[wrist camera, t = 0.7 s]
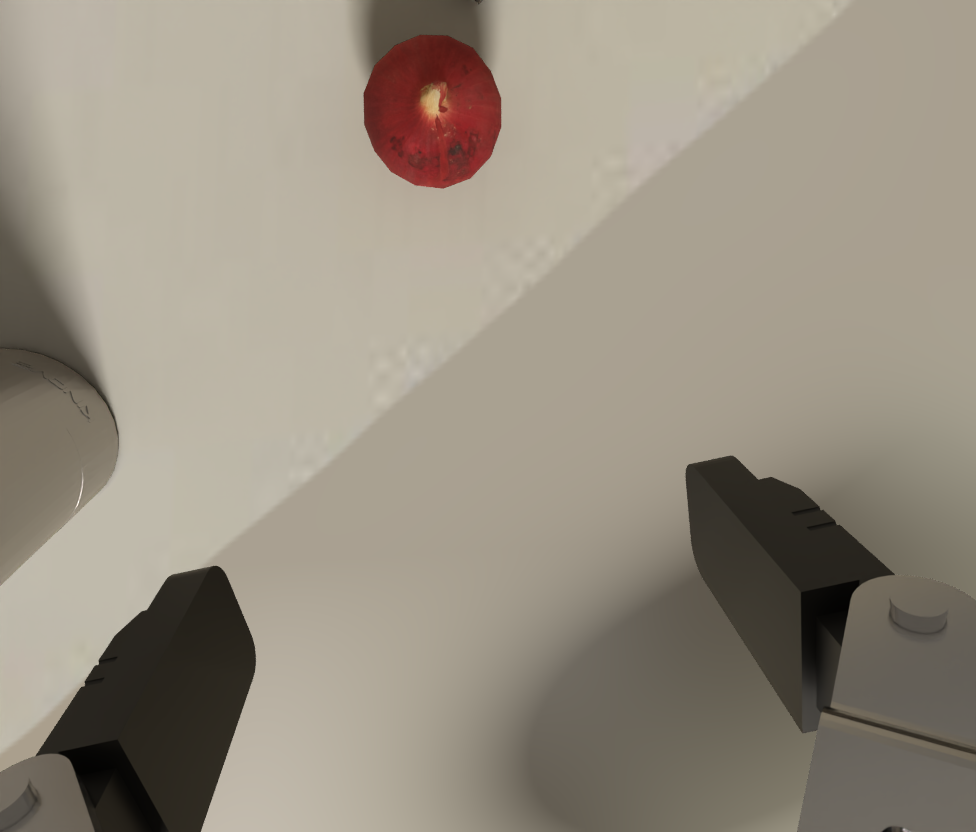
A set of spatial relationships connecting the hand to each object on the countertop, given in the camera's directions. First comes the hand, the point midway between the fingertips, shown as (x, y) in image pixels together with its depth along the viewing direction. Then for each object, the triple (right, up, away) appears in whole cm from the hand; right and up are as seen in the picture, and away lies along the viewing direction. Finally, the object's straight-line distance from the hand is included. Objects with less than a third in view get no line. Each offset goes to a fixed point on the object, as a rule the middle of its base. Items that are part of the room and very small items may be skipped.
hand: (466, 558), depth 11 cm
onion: (-2, +17, +20) cm, 26 cm away
